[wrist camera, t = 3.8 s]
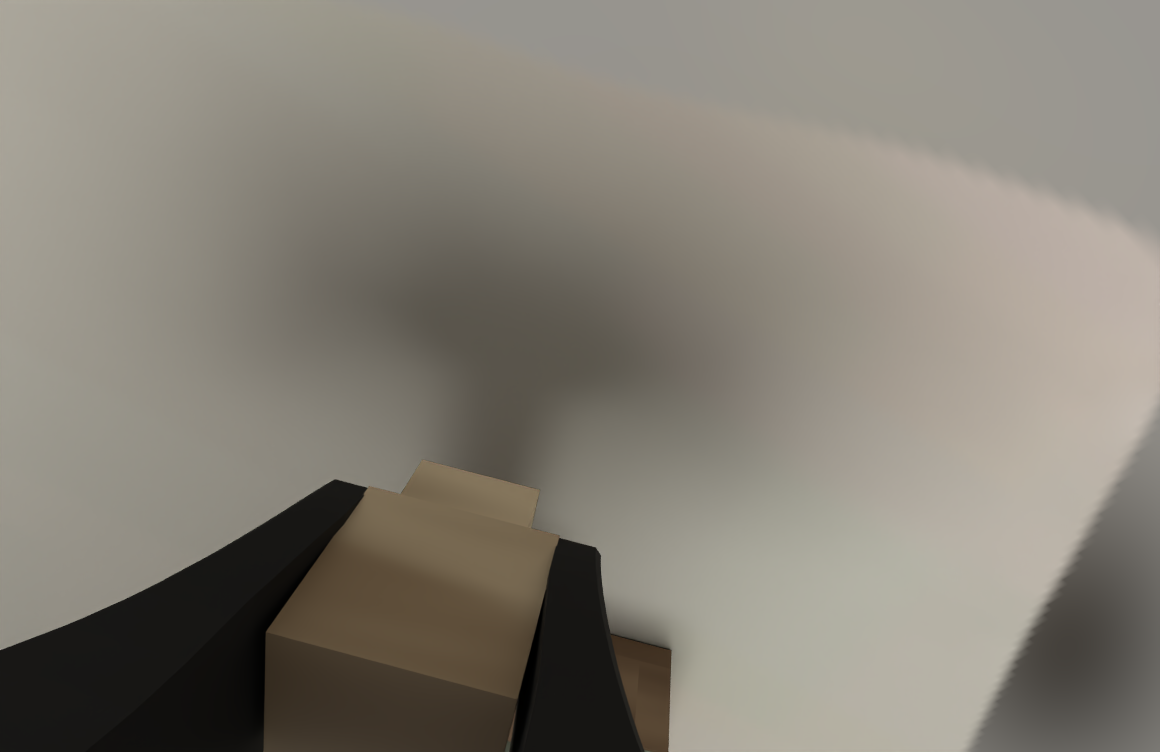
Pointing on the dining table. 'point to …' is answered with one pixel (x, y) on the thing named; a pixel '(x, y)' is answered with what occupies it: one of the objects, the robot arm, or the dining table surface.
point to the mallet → (412, 622)
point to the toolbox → (644, 690)
